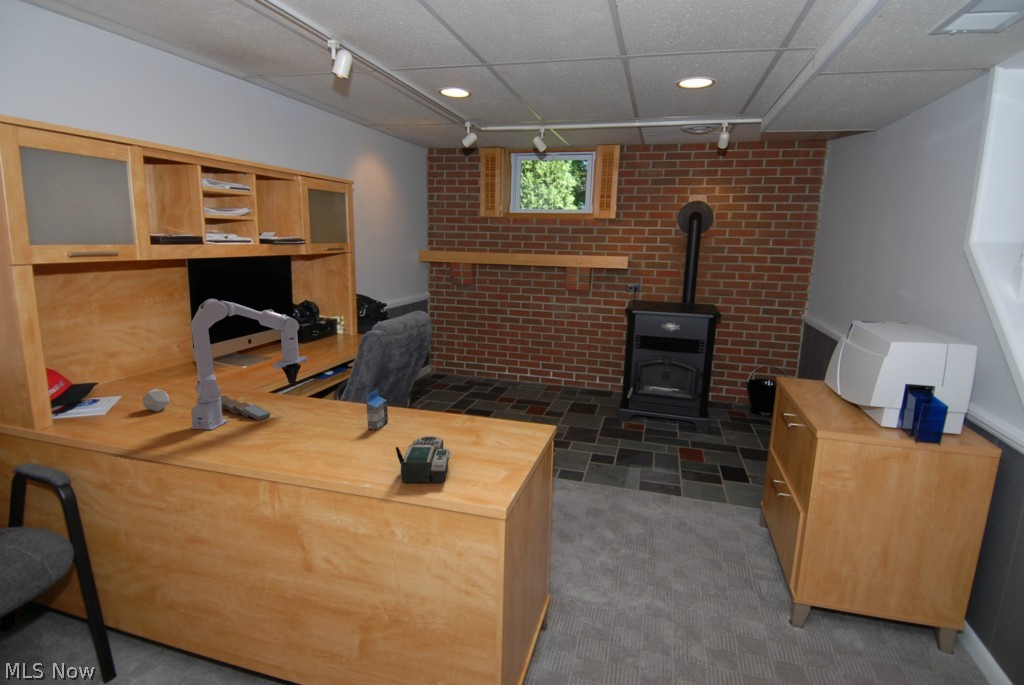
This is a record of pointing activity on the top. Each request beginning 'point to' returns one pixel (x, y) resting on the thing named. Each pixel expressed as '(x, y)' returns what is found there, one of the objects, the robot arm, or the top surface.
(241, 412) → the domino
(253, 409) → the domino
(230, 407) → the domino
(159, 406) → the die
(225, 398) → the domino
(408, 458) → the communication device
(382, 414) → the label tape box
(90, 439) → the top surface
